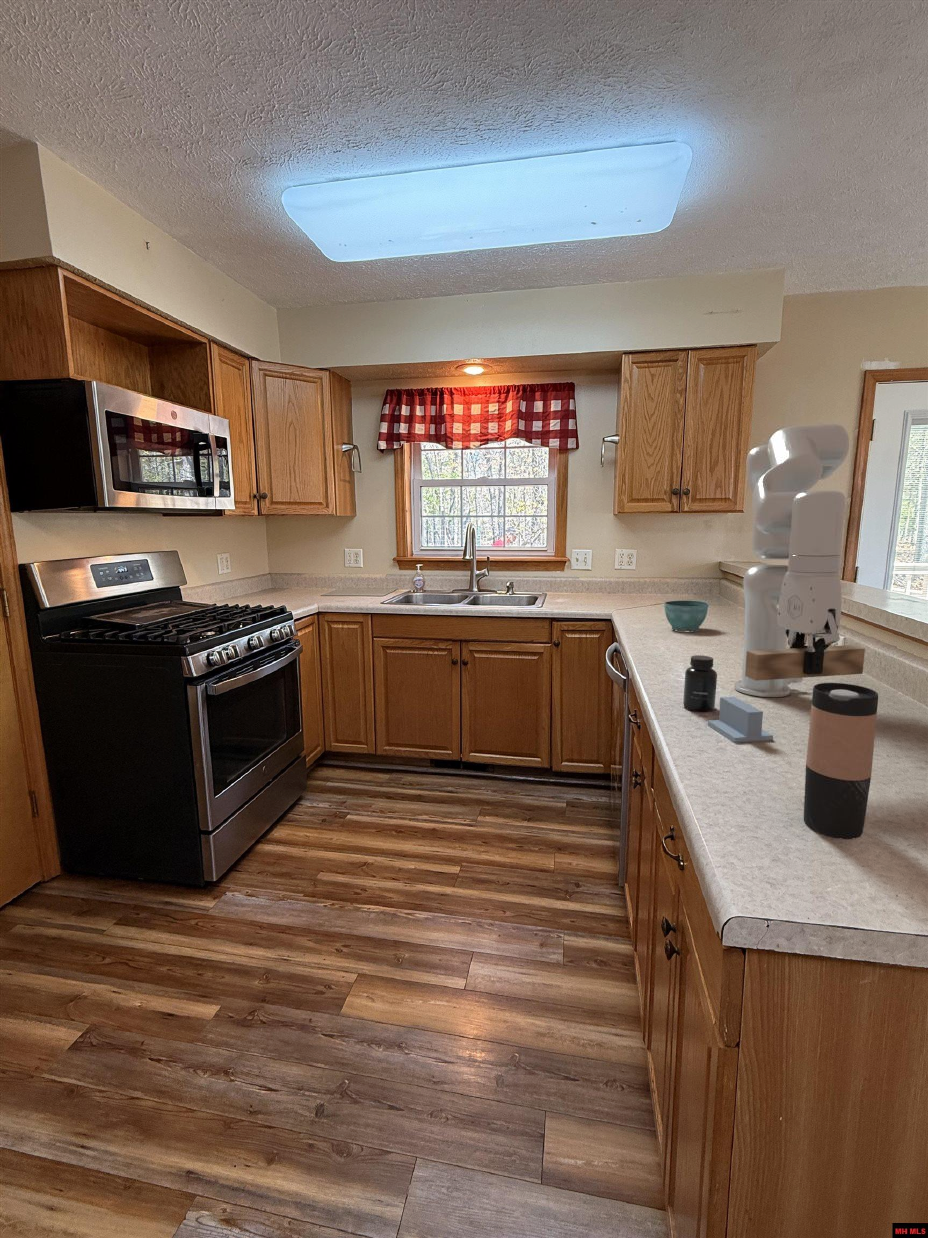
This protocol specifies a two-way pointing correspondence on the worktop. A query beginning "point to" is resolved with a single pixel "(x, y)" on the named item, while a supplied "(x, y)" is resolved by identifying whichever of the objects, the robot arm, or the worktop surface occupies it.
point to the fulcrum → (739, 721)
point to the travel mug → (839, 758)
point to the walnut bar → (802, 662)
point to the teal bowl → (686, 614)
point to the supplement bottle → (700, 685)
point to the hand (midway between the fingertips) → (805, 669)
